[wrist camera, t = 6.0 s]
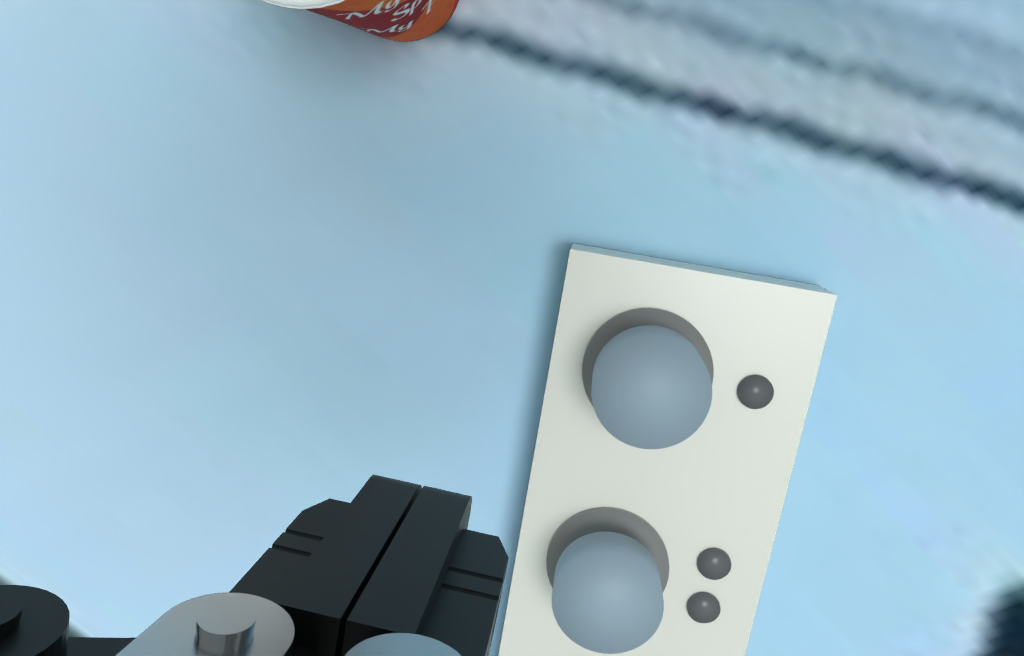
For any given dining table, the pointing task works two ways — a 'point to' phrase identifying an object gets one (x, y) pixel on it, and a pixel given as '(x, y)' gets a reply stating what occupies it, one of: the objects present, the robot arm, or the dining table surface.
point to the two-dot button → (607, 593)
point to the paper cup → (383, 15)
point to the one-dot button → (650, 387)
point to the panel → (670, 448)
